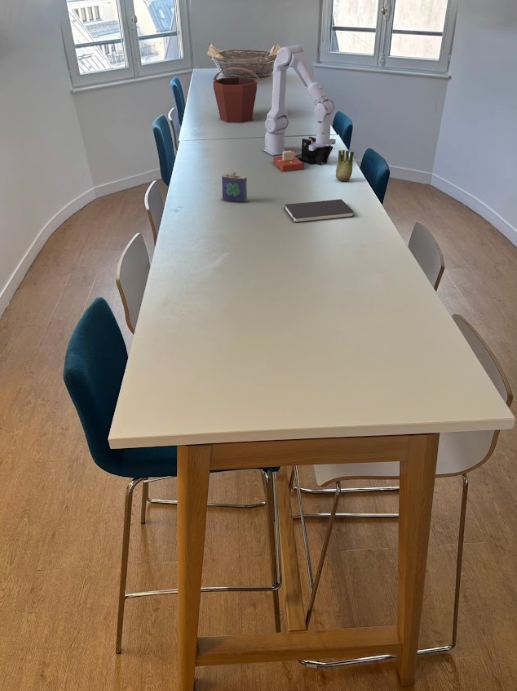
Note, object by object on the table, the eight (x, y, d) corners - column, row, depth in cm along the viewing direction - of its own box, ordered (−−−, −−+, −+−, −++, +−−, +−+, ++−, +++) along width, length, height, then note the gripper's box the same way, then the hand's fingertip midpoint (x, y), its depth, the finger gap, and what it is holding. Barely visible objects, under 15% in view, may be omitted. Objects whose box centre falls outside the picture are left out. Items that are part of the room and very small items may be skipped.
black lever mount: (325, 160, 248) (326, 139, 242) (311, 164, 243) (312, 143, 238) (306, 154, 254) (307, 134, 249) (292, 158, 249) (293, 138, 244)
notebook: (341, 203, 207) (284, 208, 203) (341, 199, 206) (284, 204, 202) (354, 216, 197) (294, 222, 193) (354, 212, 196) (294, 218, 192)
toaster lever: (323, 161, 245) (327, 155, 242) (318, 162, 243) (322, 157, 240) (308, 142, 247) (311, 137, 244) (303, 144, 245) (306, 138, 242)
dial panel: (273, 162, 245) (273, 156, 243) (293, 160, 247) (293, 154, 245) (282, 171, 235) (282, 165, 234) (303, 169, 238) (303, 162, 236)
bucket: (266, 117, 308) (267, 66, 293) (244, 126, 293) (243, 73, 278) (229, 111, 319) (227, 62, 304) (205, 120, 303) (202, 68, 289)
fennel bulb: (352, 180, 226) (355, 150, 219) (345, 184, 223) (347, 152, 216) (340, 177, 229) (343, 147, 222) (333, 180, 226) (335, 149, 219)
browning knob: (283, 161, 239) (283, 151, 236) (282, 159, 240) (282, 150, 238) (293, 159, 240) (294, 150, 238) (292, 158, 241) (293, 149, 239)
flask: (247, 200, 209) (247, 171, 203) (245, 203, 207) (244, 174, 201) (223, 198, 211) (222, 169, 205) (221, 200, 209) (219, 171, 203)
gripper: (318, 136, 230) (316, 170, 238) (342, 130, 238) (339, 162, 246) (305, 133, 234) (304, 166, 242) (329, 126, 242) (327, 159, 250)
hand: (321, 164), depth 244 cm, fingers closed on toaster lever, 3 cm apart
